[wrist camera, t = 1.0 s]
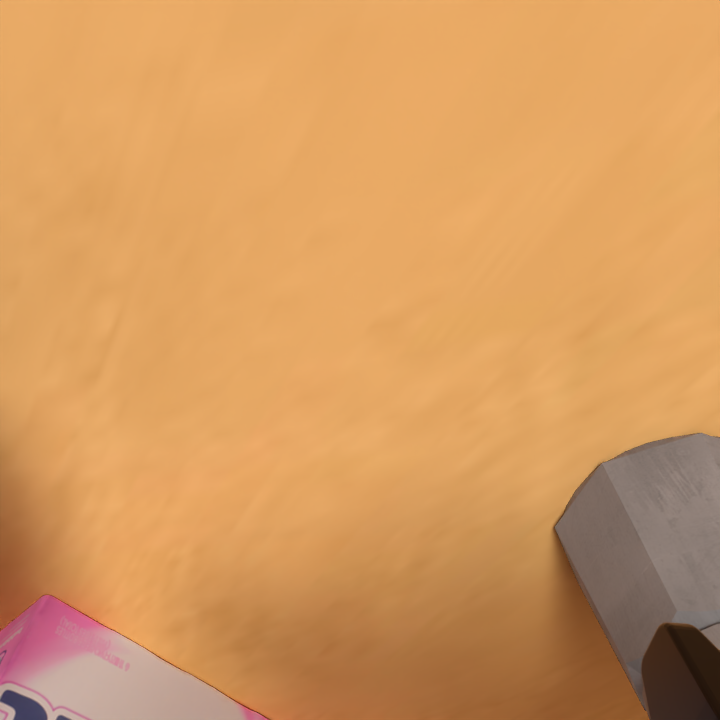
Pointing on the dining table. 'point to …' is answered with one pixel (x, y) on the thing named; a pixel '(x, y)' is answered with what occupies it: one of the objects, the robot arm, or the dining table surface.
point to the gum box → (95, 674)
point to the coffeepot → (649, 544)
